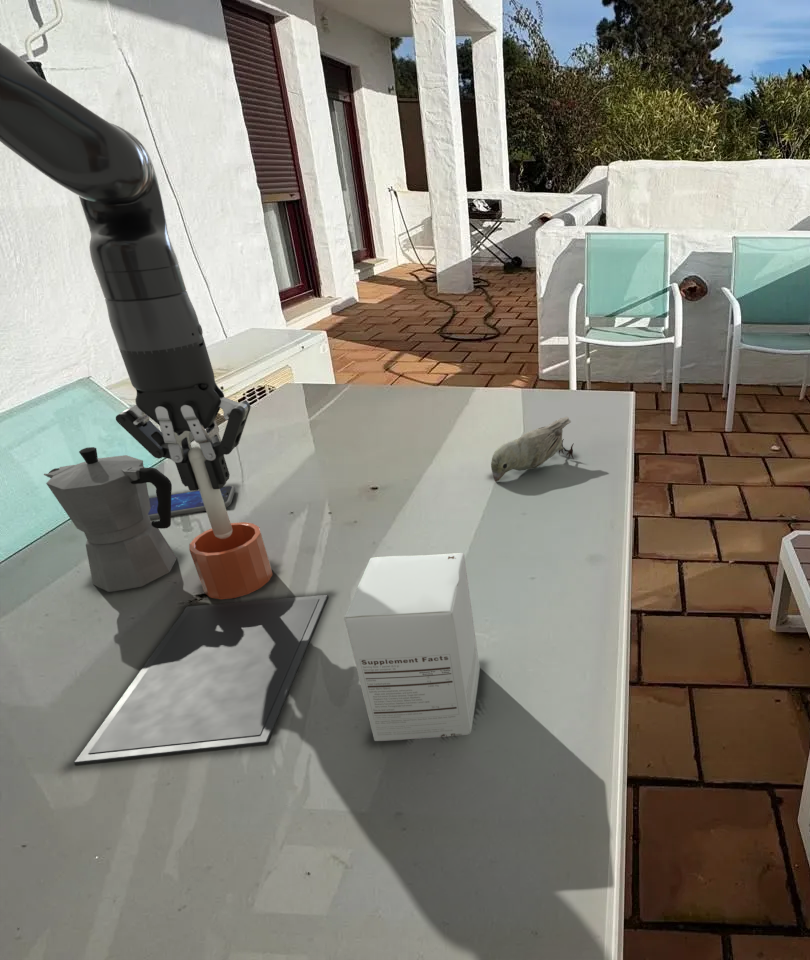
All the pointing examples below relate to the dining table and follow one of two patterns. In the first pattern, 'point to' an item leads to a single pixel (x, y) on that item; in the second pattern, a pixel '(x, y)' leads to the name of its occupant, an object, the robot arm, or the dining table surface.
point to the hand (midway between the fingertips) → (208, 486)
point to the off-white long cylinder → (210, 495)
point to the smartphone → (189, 502)
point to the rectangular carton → (415, 646)
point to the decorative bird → (530, 449)
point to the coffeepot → (117, 517)
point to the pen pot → (231, 561)
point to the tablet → (211, 681)
